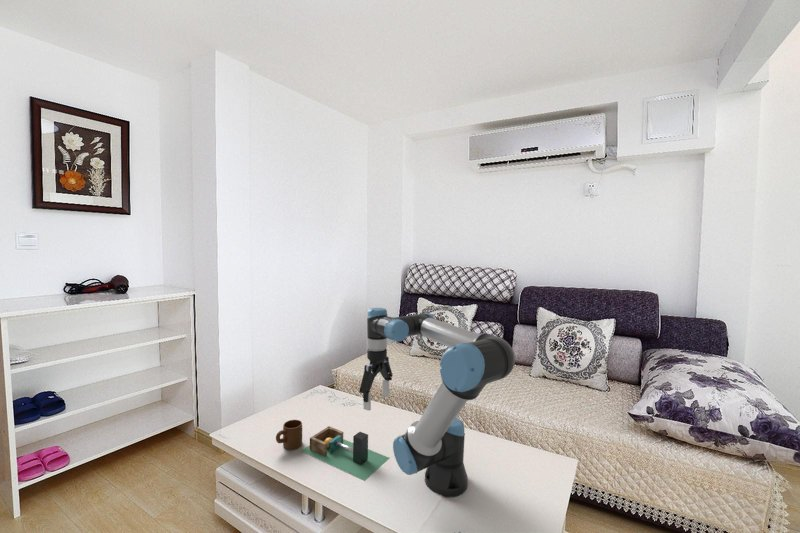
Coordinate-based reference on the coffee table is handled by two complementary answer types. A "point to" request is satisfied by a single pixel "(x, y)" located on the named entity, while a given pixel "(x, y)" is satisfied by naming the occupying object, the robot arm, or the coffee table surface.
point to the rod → (358, 447)
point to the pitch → (350, 461)
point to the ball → (327, 441)
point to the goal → (319, 438)
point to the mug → (291, 435)
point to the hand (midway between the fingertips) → (376, 402)
